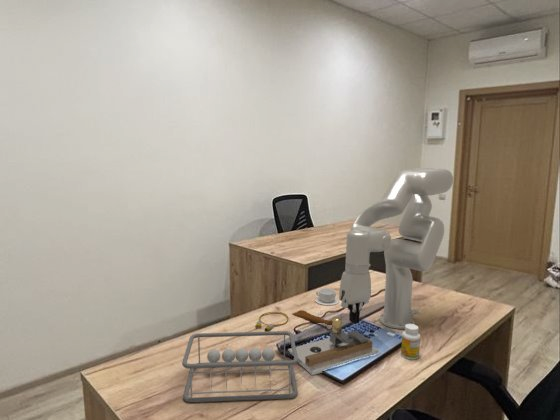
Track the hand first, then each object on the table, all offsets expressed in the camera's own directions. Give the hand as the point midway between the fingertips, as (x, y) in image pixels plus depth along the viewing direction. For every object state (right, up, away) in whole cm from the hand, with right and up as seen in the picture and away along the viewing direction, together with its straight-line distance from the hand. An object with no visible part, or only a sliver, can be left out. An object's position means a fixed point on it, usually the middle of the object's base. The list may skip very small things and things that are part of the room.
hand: (354, 321), depth 133 cm
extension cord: (-28, -5, +18) cm, 34 cm away
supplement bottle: (+16, -9, -6) cm, 20 cm away
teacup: (-5, -2, +38) cm, 38 cm away
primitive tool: (-13, -5, +19) cm, 23 cm away
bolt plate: (-8, -9, -6) cm, 13 cm away
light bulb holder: (-5, -7, -4) cm, 9 cm away
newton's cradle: (-36, -4, -13) cm, 38 cm away
